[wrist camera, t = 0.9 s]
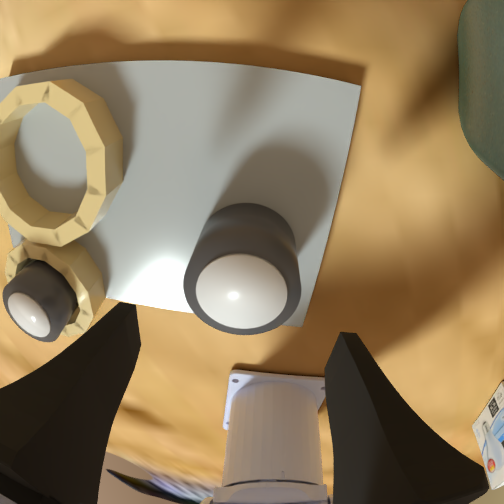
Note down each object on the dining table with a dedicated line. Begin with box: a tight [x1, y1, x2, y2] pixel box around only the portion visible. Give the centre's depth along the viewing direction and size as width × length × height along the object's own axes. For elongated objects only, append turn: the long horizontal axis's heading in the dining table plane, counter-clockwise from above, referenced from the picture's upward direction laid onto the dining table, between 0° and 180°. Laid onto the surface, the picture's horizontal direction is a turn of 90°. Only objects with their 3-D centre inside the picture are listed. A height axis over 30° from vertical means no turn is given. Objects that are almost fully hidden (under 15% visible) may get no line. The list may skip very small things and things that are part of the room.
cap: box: [183, 203, 301, 335], centre depth 15 cm, size 5×5×4 cm
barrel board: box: [0, 60, 361, 342], centre depth 15 cm, size 16×20×5 cm
